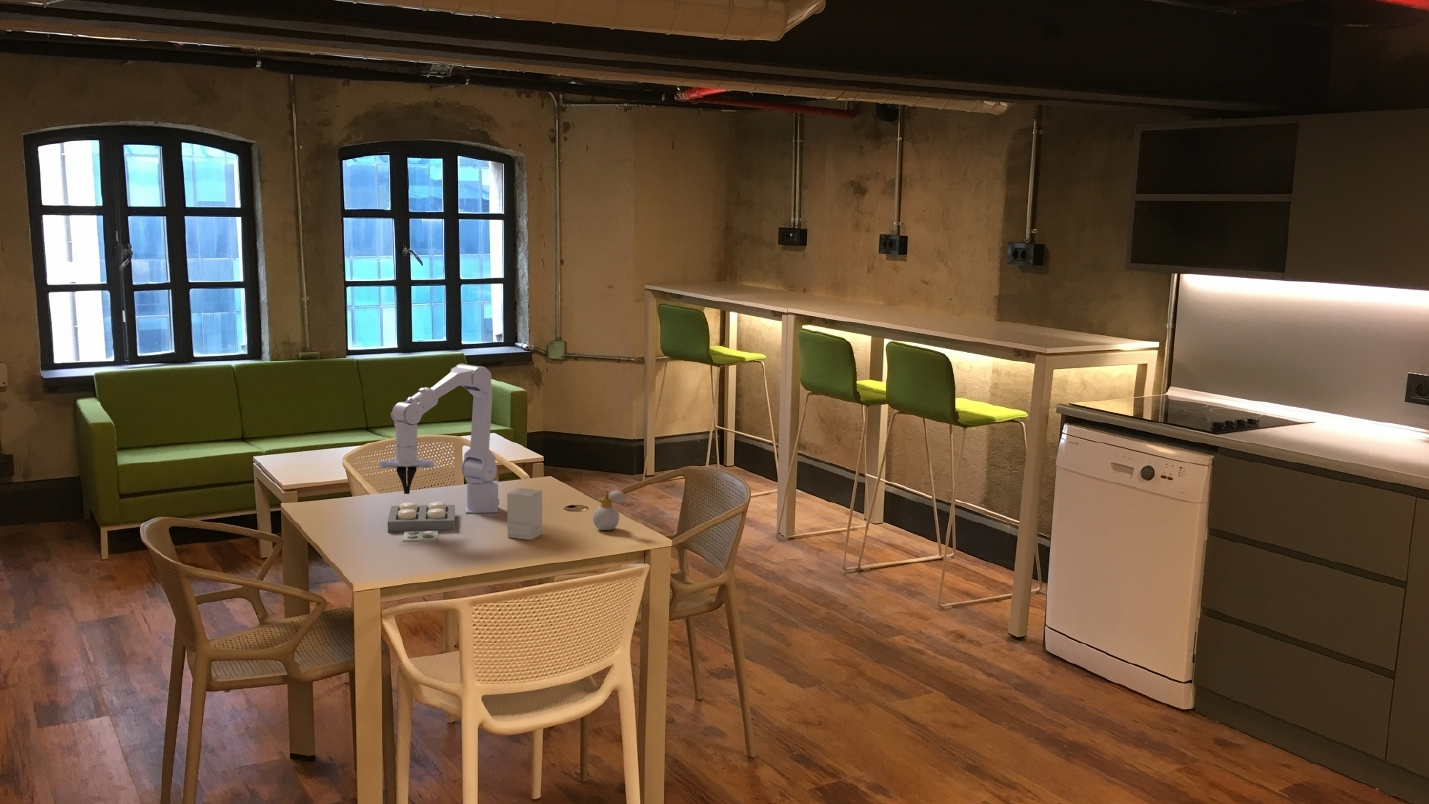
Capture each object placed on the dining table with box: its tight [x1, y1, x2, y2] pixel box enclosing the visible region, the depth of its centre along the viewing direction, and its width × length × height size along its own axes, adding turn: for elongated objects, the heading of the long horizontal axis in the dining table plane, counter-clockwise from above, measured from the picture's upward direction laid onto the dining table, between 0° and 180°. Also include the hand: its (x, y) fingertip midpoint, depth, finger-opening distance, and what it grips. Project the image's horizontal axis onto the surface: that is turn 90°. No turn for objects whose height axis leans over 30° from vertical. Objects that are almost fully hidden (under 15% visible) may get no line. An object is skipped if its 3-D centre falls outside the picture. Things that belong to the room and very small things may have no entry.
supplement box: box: [506, 487, 543, 541], centre depth 323 cm, size 7×7×13 cm
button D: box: [428, 501, 447, 512], centre depth 338 cm, size 5×5×3 cm
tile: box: [402, 530, 439, 543], centre depth 320 cm, size 9×9×1 cm
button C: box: [399, 502, 418, 512], centre depth 336 cm, size 5×5×3 cm
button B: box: [428, 509, 445, 519], centre depth 330 cm, size 5×5×3 cm
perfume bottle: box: [592, 489, 626, 531], centre depth 332 cm, size 8×10×12 cm
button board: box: [387, 504, 456, 533], centre depth 334 cm, size 18×18×3 cm
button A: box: [398, 509, 416, 520], centre depth 329 cm, size 5×5×3 cm
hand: (406, 493), depth 328 cm, fingers closed
